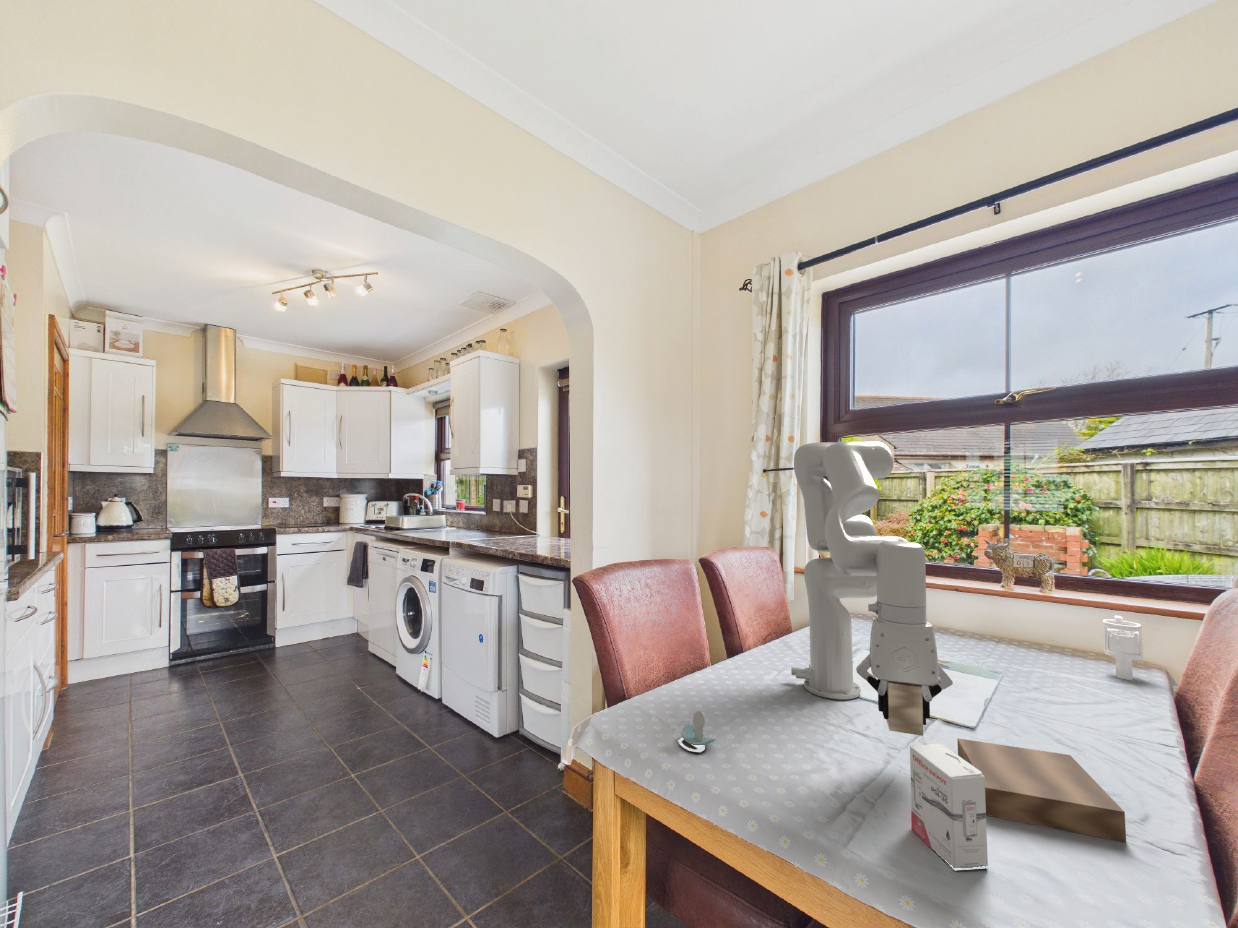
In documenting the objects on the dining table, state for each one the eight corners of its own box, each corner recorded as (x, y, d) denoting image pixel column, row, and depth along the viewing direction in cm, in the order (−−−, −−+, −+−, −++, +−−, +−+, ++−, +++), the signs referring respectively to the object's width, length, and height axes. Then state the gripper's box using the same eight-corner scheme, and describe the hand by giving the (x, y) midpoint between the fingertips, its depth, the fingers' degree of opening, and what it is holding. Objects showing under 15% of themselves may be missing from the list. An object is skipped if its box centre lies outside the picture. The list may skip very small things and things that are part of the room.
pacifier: (695, 759, 91) (720, 750, 94) (693, 724, 91) (718, 715, 94) (670, 742, 97) (694, 733, 100) (669, 709, 98) (693, 701, 101)
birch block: (889, 730, 86) (888, 683, 86) (885, 717, 91) (884, 672, 91) (923, 735, 84) (922, 687, 85) (917, 722, 89) (916, 676, 89)
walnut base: (986, 815, 75) (985, 787, 75) (958, 761, 90) (957, 738, 90) (1126, 841, 69) (1124, 811, 69) (1071, 779, 84) (1070, 754, 84)
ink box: (909, 827, 72) (906, 742, 73) (941, 825, 73) (938, 741, 73) (954, 873, 64) (950, 776, 64) (990, 870, 64) (986, 774, 65)
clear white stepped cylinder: (1139, 675, 130) (1135, 617, 131) (1148, 684, 124) (1145, 623, 125) (1102, 670, 134) (1099, 613, 135) (1109, 679, 128) (1106, 619, 129)
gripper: (849, 613, 88) (851, 720, 87) (964, 623, 82) (967, 737, 81) (846, 603, 95) (848, 701, 94) (953, 612, 89) (955, 717, 88)
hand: (903, 717), depth 88 cm, fingers closed on birch block, 5 cm apart
